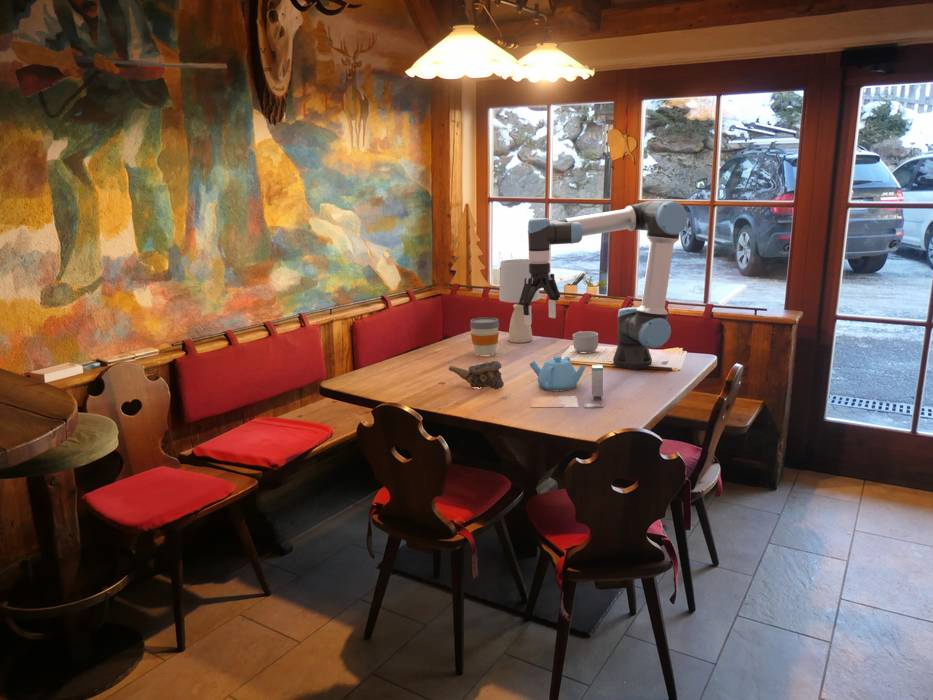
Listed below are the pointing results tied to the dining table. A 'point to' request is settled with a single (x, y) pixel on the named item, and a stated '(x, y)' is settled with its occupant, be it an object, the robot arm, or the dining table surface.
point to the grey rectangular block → (597, 382)
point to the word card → (593, 405)
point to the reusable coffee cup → (484, 335)
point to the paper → (569, 401)
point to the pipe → (481, 375)
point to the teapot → (557, 374)
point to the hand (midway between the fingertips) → (540, 320)
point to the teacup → (585, 341)
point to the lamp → (516, 296)
